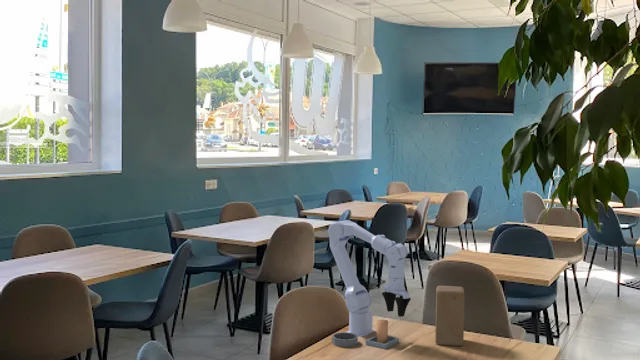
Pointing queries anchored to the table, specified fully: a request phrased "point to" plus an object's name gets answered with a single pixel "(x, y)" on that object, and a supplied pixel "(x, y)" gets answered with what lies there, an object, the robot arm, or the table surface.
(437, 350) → the table surface
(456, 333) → the wooden block
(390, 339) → the tray
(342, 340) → the grey round bowl
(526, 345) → the table surface
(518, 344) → the table surface
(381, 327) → the dowel
